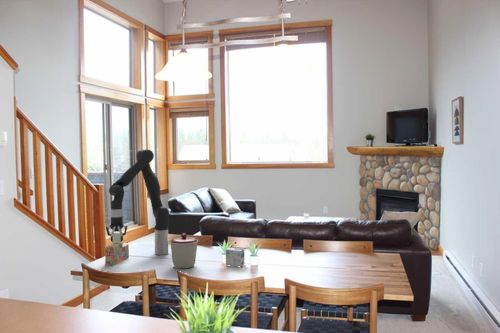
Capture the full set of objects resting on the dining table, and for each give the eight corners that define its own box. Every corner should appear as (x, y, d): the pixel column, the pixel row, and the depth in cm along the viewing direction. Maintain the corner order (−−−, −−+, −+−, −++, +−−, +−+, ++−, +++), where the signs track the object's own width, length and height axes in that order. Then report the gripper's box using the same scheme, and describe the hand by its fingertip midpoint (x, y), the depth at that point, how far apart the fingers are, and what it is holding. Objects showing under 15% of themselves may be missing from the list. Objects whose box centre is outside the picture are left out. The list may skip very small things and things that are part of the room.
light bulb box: (244, 265, 274) (244, 248, 274) (241, 267, 268) (241, 250, 268) (229, 263, 278) (229, 247, 278) (225, 266, 272) (225, 249, 271)
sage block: (121, 241, 283) (121, 232, 283) (120, 242, 278) (120, 233, 278) (113, 241, 282) (113, 232, 282) (112, 243, 277) (112, 234, 277)
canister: (197, 262, 280) (197, 230, 279) (199, 270, 262) (199, 235, 262) (169, 263, 277) (169, 231, 276) (169, 271, 259) (169, 236, 258)
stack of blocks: (120, 257, 294) (120, 239, 293) (129, 257, 293) (128, 239, 292) (105, 265, 272) (104, 246, 272) (114, 265, 271) (114, 246, 271)
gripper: (128, 214, 285) (128, 240, 285) (105, 215, 282) (105, 241, 282) (127, 216, 277) (127, 242, 278) (104, 217, 274) (104, 243, 275)
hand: (116, 241), depth 280 cm, fingers closed on sage block, 5 cm apart
